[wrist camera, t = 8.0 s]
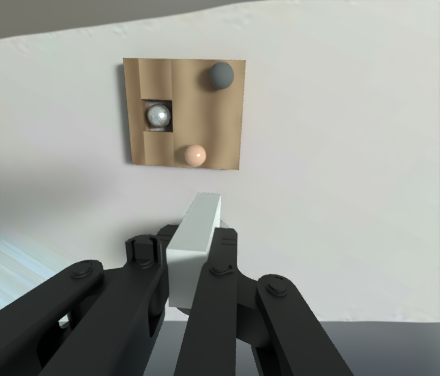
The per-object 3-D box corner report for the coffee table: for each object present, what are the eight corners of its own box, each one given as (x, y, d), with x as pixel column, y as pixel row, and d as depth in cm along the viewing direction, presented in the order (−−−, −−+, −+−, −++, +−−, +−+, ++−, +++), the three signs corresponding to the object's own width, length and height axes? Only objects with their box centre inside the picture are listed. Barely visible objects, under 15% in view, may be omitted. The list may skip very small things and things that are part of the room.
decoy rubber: (210, 90, 31) (207, 87, 28) (211, 64, 30) (208, 58, 27) (233, 90, 30) (232, 87, 27) (234, 65, 30) (234, 59, 26)
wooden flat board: (139, 161, 37) (132, 164, 35) (131, 62, 33) (122, 58, 30) (238, 166, 36) (238, 170, 34) (245, 64, 32) (245, 60, 29)
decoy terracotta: (187, 163, 34) (182, 167, 31) (186, 142, 33) (181, 145, 30) (207, 164, 34) (204, 169, 31) (207, 143, 33) (204, 146, 30)
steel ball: (145, 126, 34) (152, 128, 31) (143, 103, 33) (151, 102, 30) (166, 126, 36) (174, 128, 33) (165, 104, 35) (174, 104, 32)
